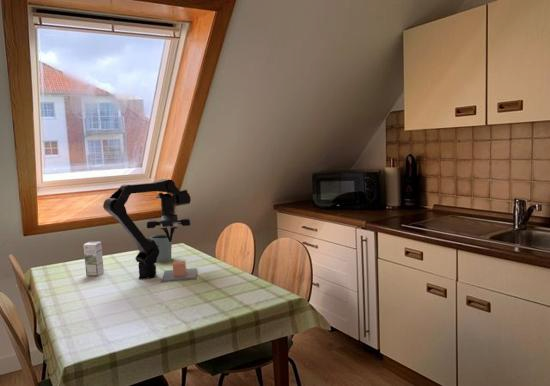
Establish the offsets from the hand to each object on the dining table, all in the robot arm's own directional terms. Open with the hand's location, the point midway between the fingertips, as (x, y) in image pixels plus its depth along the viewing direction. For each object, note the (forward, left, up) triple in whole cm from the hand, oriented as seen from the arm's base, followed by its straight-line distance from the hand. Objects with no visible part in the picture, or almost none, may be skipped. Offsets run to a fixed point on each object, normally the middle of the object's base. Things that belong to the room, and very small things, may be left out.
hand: (170, 241), depth 200 cm
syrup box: (-34, +3, -13) cm, 37 cm away
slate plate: (+4, -10, -13) cm, 17 cm away
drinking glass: (-6, +19, -13) cm, 24 cm away
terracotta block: (+4, -10, -12) cm, 16 cm away
